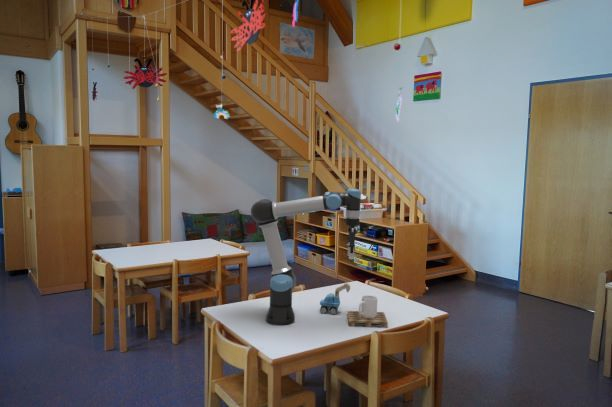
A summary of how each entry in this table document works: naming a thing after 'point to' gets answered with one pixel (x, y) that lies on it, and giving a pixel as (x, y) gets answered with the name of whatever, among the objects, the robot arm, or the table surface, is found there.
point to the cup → (368, 306)
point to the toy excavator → (333, 300)
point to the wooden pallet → (366, 319)
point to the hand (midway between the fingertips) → (350, 256)
